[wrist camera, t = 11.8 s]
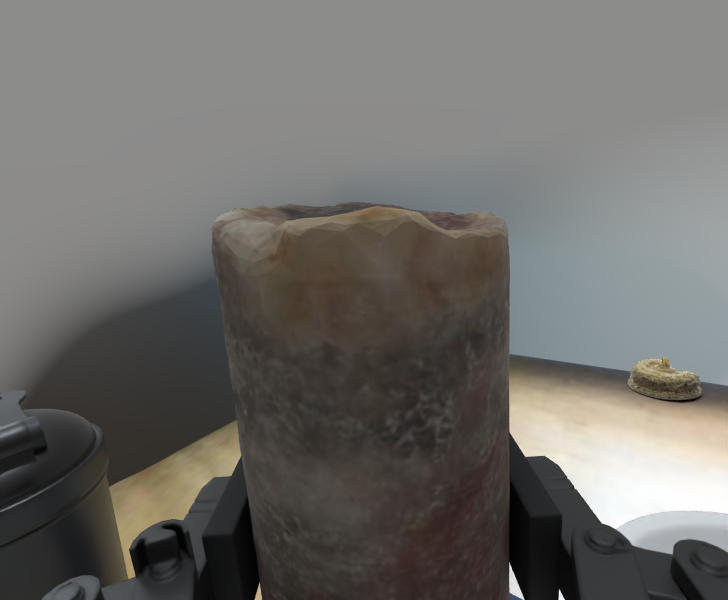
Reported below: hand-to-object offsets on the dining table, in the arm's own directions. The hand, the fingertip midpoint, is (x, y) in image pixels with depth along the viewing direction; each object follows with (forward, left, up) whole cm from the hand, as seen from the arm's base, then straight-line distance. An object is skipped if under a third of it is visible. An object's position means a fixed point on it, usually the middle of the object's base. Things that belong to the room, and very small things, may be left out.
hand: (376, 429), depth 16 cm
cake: (+10, +66, -24) cm, 71 cm away
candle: (+3, -4, -11) cm, 12 cm away
